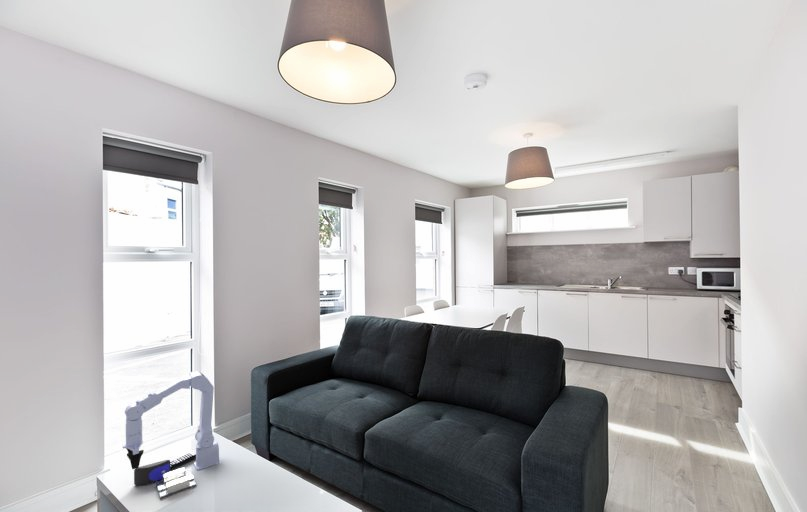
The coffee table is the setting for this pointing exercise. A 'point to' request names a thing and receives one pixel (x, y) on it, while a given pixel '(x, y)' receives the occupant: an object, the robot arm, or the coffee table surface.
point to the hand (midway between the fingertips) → (134, 464)
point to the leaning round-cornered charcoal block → (151, 473)
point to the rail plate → (175, 483)
